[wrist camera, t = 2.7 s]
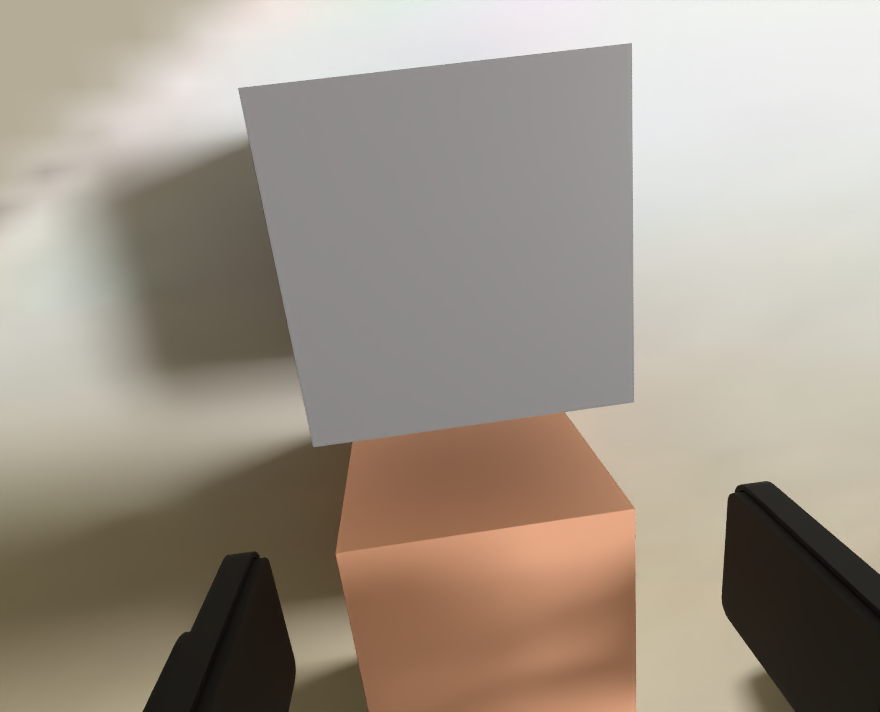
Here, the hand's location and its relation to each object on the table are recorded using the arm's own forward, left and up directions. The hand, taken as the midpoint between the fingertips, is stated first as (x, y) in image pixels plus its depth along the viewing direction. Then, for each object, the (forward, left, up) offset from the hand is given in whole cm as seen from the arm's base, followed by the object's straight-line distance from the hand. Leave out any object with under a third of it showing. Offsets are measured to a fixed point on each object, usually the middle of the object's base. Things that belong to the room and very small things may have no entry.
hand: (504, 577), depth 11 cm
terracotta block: (-1, 0, -4) cm, 4 cm away
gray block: (+4, +5, -4) cm, 8 cm away
